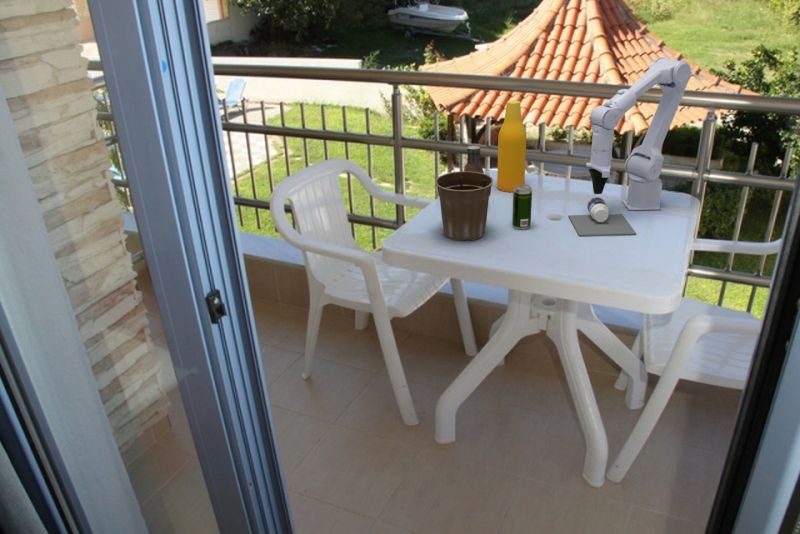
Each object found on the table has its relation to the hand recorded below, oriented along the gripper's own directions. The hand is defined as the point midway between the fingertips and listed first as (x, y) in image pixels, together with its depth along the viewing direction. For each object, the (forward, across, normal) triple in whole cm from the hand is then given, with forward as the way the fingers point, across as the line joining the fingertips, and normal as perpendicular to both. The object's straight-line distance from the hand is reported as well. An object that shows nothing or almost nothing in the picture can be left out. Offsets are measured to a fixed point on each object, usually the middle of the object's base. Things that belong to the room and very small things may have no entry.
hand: (597, 193), depth 203 cm
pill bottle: (+4, -2, 0) cm, 5 cm away
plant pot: (+8, +10, -40) cm, 42 cm away
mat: (+7, +7, 0) cm, 10 cm away
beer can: (+8, +6, -23) cm, 25 cm away
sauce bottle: (+8, -9, -36) cm, 38 cm away
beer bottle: (+8, -28, -22) cm, 36 cm away
